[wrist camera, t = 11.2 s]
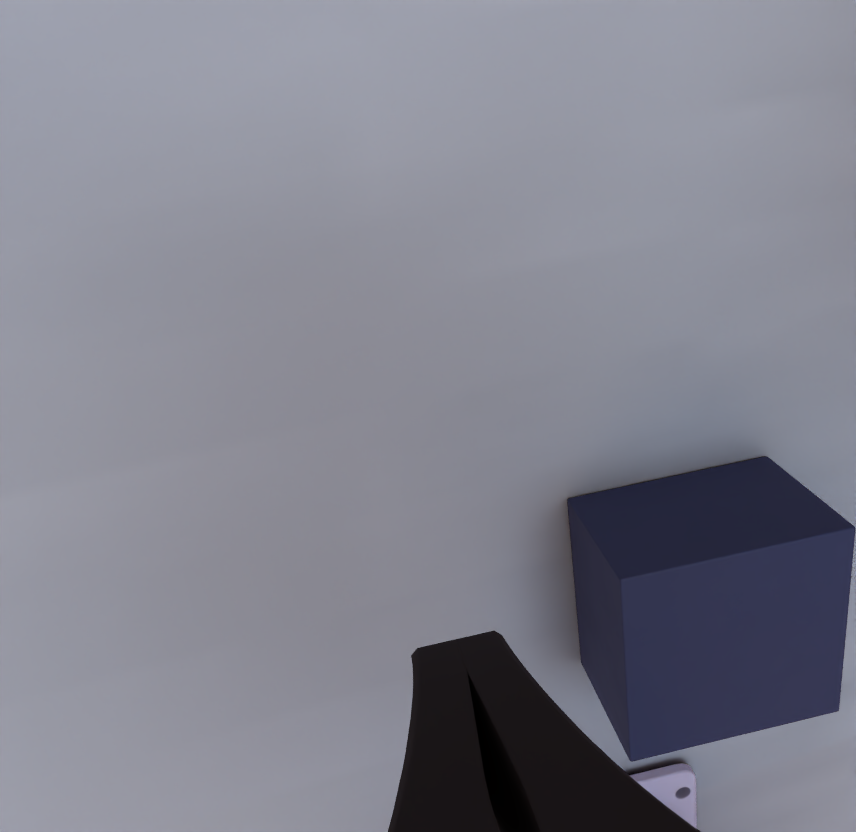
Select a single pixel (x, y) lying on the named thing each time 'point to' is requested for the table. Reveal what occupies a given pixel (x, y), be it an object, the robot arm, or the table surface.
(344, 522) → the table surface
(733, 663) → the navy block
